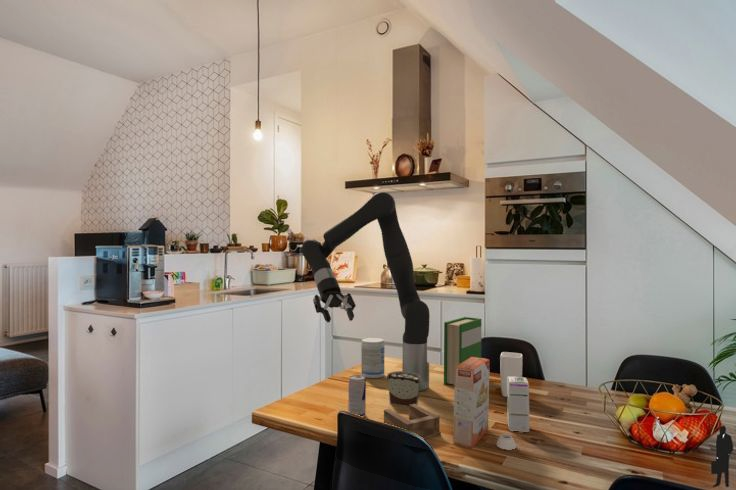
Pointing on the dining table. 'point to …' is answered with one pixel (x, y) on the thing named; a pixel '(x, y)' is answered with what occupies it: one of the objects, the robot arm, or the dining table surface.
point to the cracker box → (471, 401)
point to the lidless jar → (506, 442)
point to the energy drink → (357, 395)
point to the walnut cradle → (415, 421)
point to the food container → (403, 388)
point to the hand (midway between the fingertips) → (340, 320)
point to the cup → (509, 368)
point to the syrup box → (518, 404)
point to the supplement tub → (372, 357)
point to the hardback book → (460, 344)
